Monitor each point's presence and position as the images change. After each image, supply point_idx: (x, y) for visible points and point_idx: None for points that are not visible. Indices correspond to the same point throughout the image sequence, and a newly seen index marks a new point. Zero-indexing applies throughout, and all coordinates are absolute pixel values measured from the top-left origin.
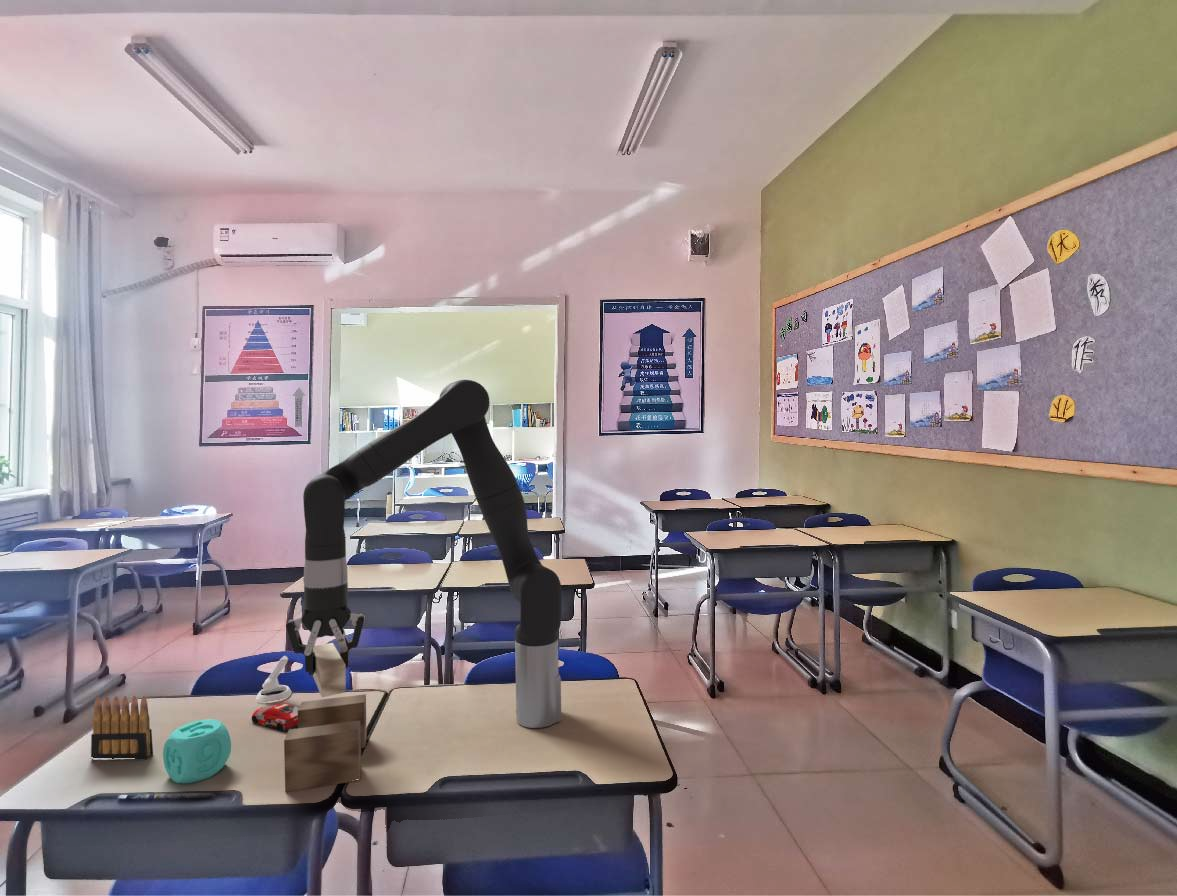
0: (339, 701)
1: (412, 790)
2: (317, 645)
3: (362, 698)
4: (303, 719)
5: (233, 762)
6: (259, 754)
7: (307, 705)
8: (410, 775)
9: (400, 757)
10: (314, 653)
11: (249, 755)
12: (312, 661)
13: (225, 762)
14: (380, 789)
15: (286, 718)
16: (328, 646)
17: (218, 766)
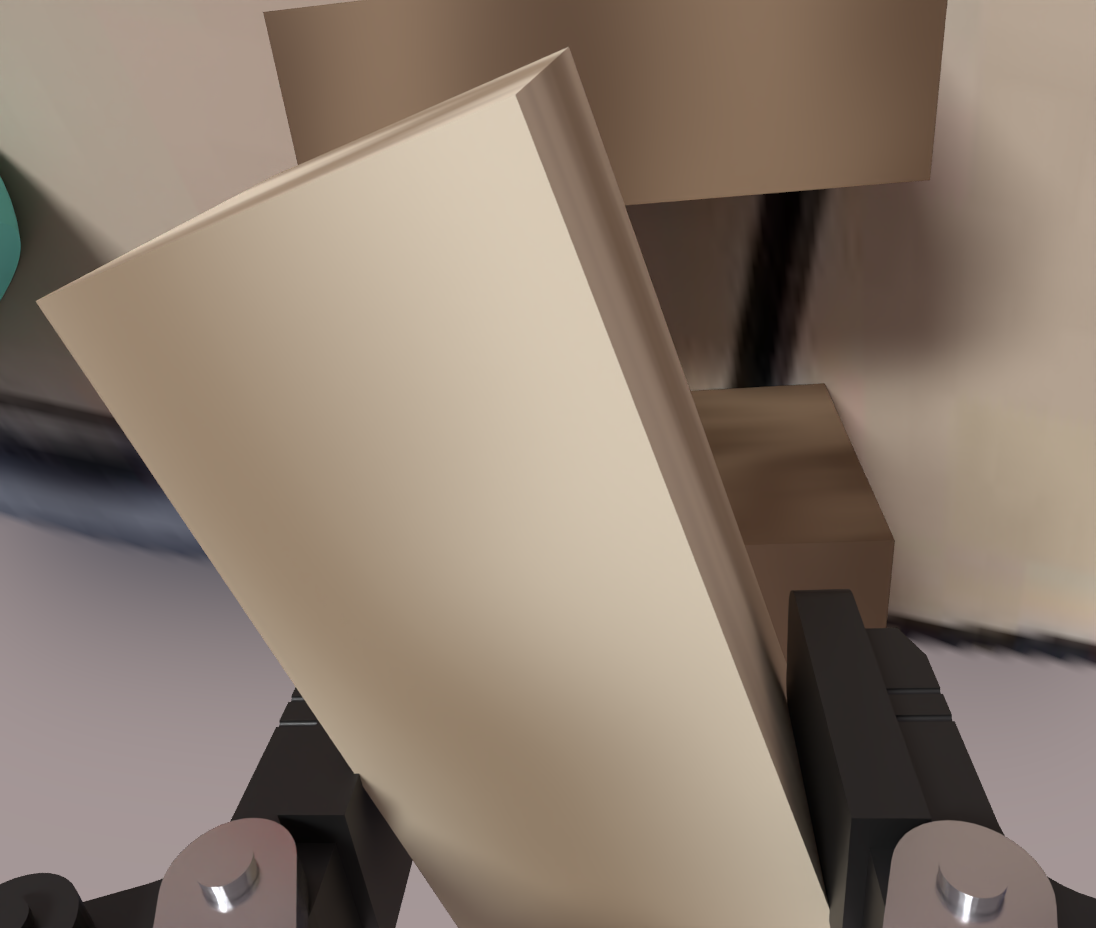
0: (668, 97)
1: (1078, 624)
2: (168, 250)
3: (913, 63)
4: None
5: (32, 134)
6: (137, 55)
7: (363, 129)
8: (1092, 504)
9: (1066, 303)
10: (356, 812)
11: (78, 55)
12: (405, 871)
13: (17, 231)
14: (926, 584)
15: None
16: (486, 401)
17: (4, 261)
